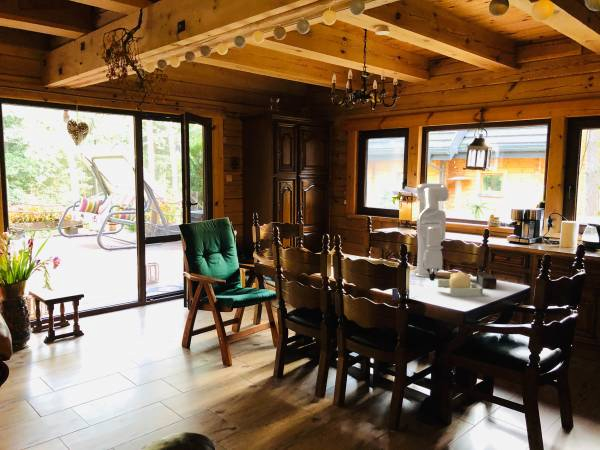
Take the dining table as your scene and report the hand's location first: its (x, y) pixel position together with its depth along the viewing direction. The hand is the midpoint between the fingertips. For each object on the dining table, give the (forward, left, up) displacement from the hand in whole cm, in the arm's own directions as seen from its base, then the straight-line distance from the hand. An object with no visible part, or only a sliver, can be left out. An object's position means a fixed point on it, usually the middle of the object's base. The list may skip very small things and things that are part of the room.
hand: (432, 280), depth 273 cm
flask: (+18, -22, -6) cm, 29 cm away
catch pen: (+1, +15, -6) cm, 16 cm away
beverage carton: (-13, +37, -7) cm, 39 cm away
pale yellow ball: (+1, +15, -6) cm, 17 cm away
